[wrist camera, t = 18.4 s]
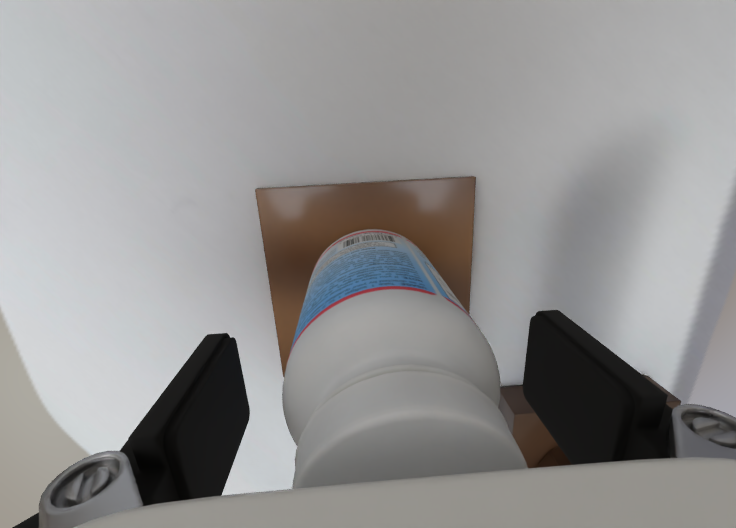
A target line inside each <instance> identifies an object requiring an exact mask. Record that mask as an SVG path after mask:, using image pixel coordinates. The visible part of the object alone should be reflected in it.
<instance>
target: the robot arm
mask: <svg viewBox="0 0 736 528" xmlns="http://www.w3.org/2000/svg"><path fill="white" fill-rule="evenodd" d="M523 393H524V396H525V399H526V400H527V402H528V403H529V405H530V406H531V407H532V409H533V410H534V412H535V413H536V414H537V416H538V417H539V419H540V420H541V422H542V423H543V424H544V426H545V427H546V429H547V430H548V431H549V433H550V434H551V436H552V437H553V439H554V440H555V441H556V443H557V444H558V446H559V447H560V448H561V450H562V451H563V453H564V454H565V456H566V457H567V458H568V460H569V461H570V463H571V464H572V465H565V466H552V467H540V468H527V469H515V470H502V471H490V472H478V473H466V474H455V475H443V476H431V477H420V478H408V479H397V480H385V481H374V482H363V483H352V484H341V485H330V486H320V487H309V488H298V489H287V490H276V491H266V492H255V493H244V494H234V495H223V496H221V495H222V492H223V489H224V487H225V484H226V481H227V478H228V476H229V473H230V470H231V468H232V465H233V462H234V459H235V457H236V454H237V451H238V448H239V446H240V443H241V440H242V437H243V435H244V432H245V429H246V426H247V424H248V421H249V414H250V410H249V404H248V399H247V394H246V389H245V384H244V379H243V374H242V369H241V364H240V359H239V353H238V348H237V343H236V340H235V338H234V337H233V338H230V336H229V335H228V334H227V333H223V334H209V335H207V336H205V338H204V339H203V340H202V342H201V343H200V344H199V346H198V347H197V348H196V350H195V351H194V352H193V354H192V355H191V356H190V358H189V359H188V360H187V362H186V363H185V364H184V366H183V367H182V368H181V369H180V371H179V372H178V373H177V375H176V376H175V377H174V379H173V380H172V381H171V383H170V384H169V385H168V387H167V388H166V389H165V391H164V392H163V393H162V395H161V396H160V397H159V399H158V400H157V401H156V402H155V404H154V405H153V406H152V408H151V409H150V410H149V412H148V413H147V414H146V416H145V417H144V418H143V420H142V421H141V422H140V424H139V425H138V426H137V428H136V429H135V430H134V432H133V433H132V434H131V435H130V437H129V438H128V441H127V442H126V443H125V445H124V446H123V447H122V449H121V450H120V451H105V452H101V453H96V454H94V455H91V456H89V457H87V458H84V459H82V460H80V461H78V462H77V463H75V464H73V465H71V466H70V467H68V468H67V469H66V470H64V471H63V472H62V473H61V474H59V475H58V476H57V477H56V478H55V479H54V480H53V481H52V482H51V483H50V484H49V485H48V486H47V488H46V490H45V491H44V492H43V494H42V496H41V499H40V503H39V513H37V514H35V515H34V516H32V517H30V518H28V519H27V520H25V521H24V522H22V523H20V524H18V525H16V526H15V527H13V528H736V418H735V417H733V416H731V415H729V414H727V413H725V412H722V411H719V410H716V409H713V408H711V407H706V406H702V405H695V404H683V405H678V406H677V407H675V408H674V409H672V408H671V407H669V406H668V405H667V404H666V401H667V397H668V395H667V394H666V393H665V392H663V391H662V390H661V389H660V388H658V387H657V386H656V385H654V384H653V383H652V382H650V381H649V380H648V379H647V378H645V377H644V376H643V375H641V374H640V373H639V372H638V371H636V370H635V369H634V368H632V367H631V366H630V365H629V364H627V363H626V362H625V361H623V360H622V359H621V358H619V357H618V356H617V355H616V354H614V353H613V352H612V351H610V350H609V349H608V348H607V347H605V346H604V345H603V344H601V343H600V342H599V341H598V340H596V339H595V338H594V337H592V336H591V335H590V334H588V333H587V332H586V331H585V330H583V329H582V328H581V327H579V326H578V325H577V324H576V323H574V322H573V321H572V320H570V319H569V318H568V317H566V316H565V315H564V314H563V313H561V312H560V311H558V310H550V311H538V312H537V313H536V315H535V316H533V317H532V318H531V320H530V327H529V336H528V345H527V354H526V363H525V371H524V380H523Z"/></svg>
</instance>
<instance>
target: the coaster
mask: <svg viewBox="0 0 736 528" xmlns="http://www.w3.org/2000/svg"><path fill="white" fill-rule="evenodd" d="M475 183H476V177H473V176H469V177H451V178H433V179H415V180H397V181H379V182H361V183H344V184H326V185H308V186H290V187H272V188H257V189H255V192H256V198H257V205H258V211H259V218H260V225H261V231H262V238H263V244H264V251H265V258H266V264H267V271H268V278H269V284H270V291H271V297H272V304H273V311H274V317H275V324H276V330H277V337H278V344H279V350H280V357H281V364H282V370H283V377H284V376H285V371H286V365H287V361H288V358H289V355H290V351H291V347H292V343H293V340H294V336H295V332H296V329H297V325H298V322H299V317H300V314H301V310H302V307H303V303H304V300H305V296H306V293H307V289H308V286H309V282H310V279H311V276H312V273H313V270H314V267H315V265H316V263H317V261H318V259H319V258H320V256H321V255H322V254H323V252H324V251H325V250H326V249H327V248H328V247H329V246H330V245H331V244H332V243H334V242H335V241H336V240H338V239H340V238H341V237H343V236H345V235H348V234H350V233H353V232H356V231H361V230H367V229H380V230H386V231H390V232H394V233H397V234H399V235H401V236H403V237H405V238H407V239H408V240H410V241H411V242H413V243H414V244H415V245H416V246H417V247H418V248H419V249H420V250H421V251H422V252H423V253H424V255H425V256H426V257H427V259H428V260H429V261H430V263H431V264H432V265H433V267H434V268H435V269H436V271H437V272H438V273H439V275H440V276H441V277H442V279H443V280H444V281H445V283H446V284H447V286H448V287H449V288H450V290H451V291H452V292H453V294H454V295H455V296H456V298H457V299H458V300H459V302H460V303H461V305H462V306H463V307H464V309H465V310H466V311H467V313H468V314H469V306H470V286H471V265H472V245H473V224H474V203H475Z"/></svg>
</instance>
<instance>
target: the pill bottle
mask: <svg viewBox="0 0 736 528" xmlns="http://www.w3.org/2000/svg"><path fill="white" fill-rule="evenodd" d="M282 398H283V410H284V415H285V419H286V423H287V426H288V429H289V431H290V434H291V436H292V438H293V440H294V442H295V443H296V445H297V450H296V457H295V474H294V480H293V488H292V489H298V488H309V487H320V486H330V485H341V484H352V483H363V482H374V481H385V480H397V479H408V478H420V477H431V476H443V475H455V474H466V473H478V472H490V471H502V470H515V469H527V468H528V467H527V464H526V461H525V459H524V457H523V455H522V453H521V451H520V449H519V447H518V445H517V443H516V441H515V439H514V438H513V436H512V434H511V432H510V431H509V428H508V425H507V423H506V421H505V418H504V416H503V415H502V413H501V411H500V410H499V409H498V406H499V400H500V376H499V370H498V366H497V362H496V359H495V356H494V354H493V351H492V349H491V347H490V345H489V343H488V341H487V340H486V338H485V337H484V335H483V334H482V332H481V331H480V329H479V327H478V326H477V325H476V323H475V322H474V321H473V319H472V318H471V317H470V315H469V314H468V313H467V311H466V310H465V309H464V307H463V306H462V305H461V303H460V302H459V300H458V299H457V298H456V296H455V295H454V294H453V292H452V291H451V290H450V288H449V287H448V286H447V284H446V283H445V281H444V280H443V279H442V277H441V276H440V275H439V273H438V272H437V271H436V269H435V268H434V267H433V265H432V264H431V263H430V261H429V260H428V259H427V257H426V256H425V255H424V253H423V252H422V251H421V250H420V249H419V248H418V247H417V246H416V245H415V244H414V243H413V242H411V241H410V240H408V239H407V238H405V237H403V236H401V235H399V234H397V233H394V232H390V231H386V230H380V229H367V230H361V231H356V232H353V233H350V234H348V235H345V236H343V237H341V238H340V239H338V240H336V241H335V242H334V243H332V244H331V245H330V246H329V247H328V248H327V249H326V250H325V251H324V252H323V254H322V255H321V256H320V258H319V259H318V261H317V263H316V265H315V267H314V270H313V273H312V276H311V279H310V282H309V286H308V289H307V293H306V296H305V300H304V303H303V307H302V310H301V314H300V317H299V322H298V325H297V329H296V332H295V336H294V340H293V343H292V347H291V351H290V355H289V358H288V361H287V365H286V371H285V376H284V382H283V393H282Z"/></svg>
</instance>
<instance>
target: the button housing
mask: <svg viewBox="0 0 736 528" xmlns="http://www.w3.org/2000/svg"><path fill="white" fill-rule="evenodd" d="M644 377H645V378H647V379H648V380H649V381H650V382H652V383H653V384H654V385H656V386H657V387H658V388H660V389H661V390H662V391H663V392H665V393H666V394H667V395H668V397H667V401H666V404H667V405H668V406H669V407H671V408H672V409H674V408H675V407H677V406H678V405H680V403H681V401H680V400H679V399H678V398H676V397H675V396H674V395H672V394H671V393H670V392H668V391H667V390H666V389H664V388H663V387H662V386H660V385H659V384H658V383H656V382H655V381H654V380H652V379H651V378H650V377H648V376H644ZM498 409H499V410H500V411H501V413H502V415H503V416H504V418H505V421H506V423H507V425H508V428H509V431H510V432H511V434H512V436H513V438H514V439H515V441H516V443H517V445H518V447H519V449H520V451H521V453H522V455H523V457H524V459H525V461H526V464H527V467H528V468H540V467H552V466H565V465H572V464H571V463H570V461H569V460H568V458H567V457H566V456H565V454H564V453H563V451H562V450H561V448H560V447H559V446H558V444H557V443H556V441H555V440H554V439H553V437H552V436H551V434H550V433H549V431H548V430H547V429H546V427H545V426H544V424H543V423H542V422H541V420H540V419H539V417H538V416H537V414H536V413H535V412H534V410H533V409H532V407H531V406H530V405H529V403H528V402H527V400H526V399H525V396H524V393H523V386H512V387H500V400H499V406H498Z"/></svg>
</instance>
